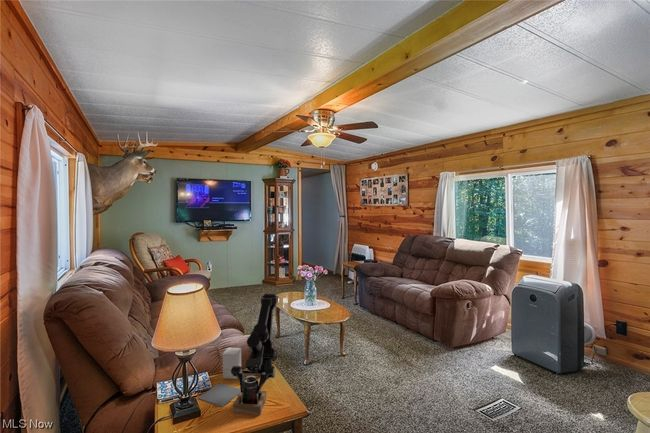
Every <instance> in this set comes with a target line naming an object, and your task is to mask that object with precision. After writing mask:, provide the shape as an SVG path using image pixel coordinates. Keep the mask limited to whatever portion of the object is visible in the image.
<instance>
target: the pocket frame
mask: <svg viewBox="0 0 650 433" xmlns="http://www.w3.org/2000/svg"><path fill="white" fill-rule="evenodd" d="M266 401H267V391H266V390H260V392H259V393H258V404H242V393H241V391H240V393H239V395H237V396H236V399H235V401H234V403H233V405H232V413H233V414H234V415H235V414H237V415H255V416H256V415H259V416H260V415H261V414H262V411H263V408H264V405H265V403H266Z"/></svg>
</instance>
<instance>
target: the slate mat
mask: <svg viewBox="0 0 650 433" xmlns="http://www.w3.org/2000/svg"><path fill="white" fill-rule="evenodd" d="M240 391H241V389H240V388H238V387H236V386H235V387H234V386H232V385H229V384H225V383H222V382H220V383H219V382H218V383H217V384H216V385H214V386H213V387H212V388H210V389H208V390H207V391H205V393H203V394H202V395H200V396H199V397H197V399H198V400H201V401H203V402H206V403H209V404H212V405H216V406H218V407H220V408H224V407H225V406H226V405H227V404H229V403H230V402H231V401H232V400H233V399H235V398H237V397H238V395H239V393H240Z"/></svg>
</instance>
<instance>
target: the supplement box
mask: <svg viewBox="0 0 650 433" xmlns="http://www.w3.org/2000/svg"><path fill="white" fill-rule="evenodd" d="M233 366H241V367H242V348H241V347H227V348H226V349H225V351H224V352H223V353H222V378H223V379H233V380H237V379H238V377H237V376H233V375H232V373H231V369H232V367H233Z"/></svg>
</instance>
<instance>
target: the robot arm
mask: <svg viewBox="0 0 650 433" xmlns="http://www.w3.org/2000/svg"><path fill="white" fill-rule="evenodd" d="M278 301H279V296H278V295H277V294H276V293H264V294H263V295H261V296H260V305H261V306H260V310H259V315H258V320H257V322H256V324H255V325H254V326H253V330H252V331H251V333H250V335H249V337H247V339H246V344H247V347H248V349H249V350H250V354H249V356H248V358H246V359H245V366H244V367H245V368H242V365H241V366H233V367H232V369H231V373H232V375H233V376H237V379H238V381H239V387H240V388H239V389H241V393H242V383H243V381H244V378H245V377H246V376H245V374H246V375H260V376H259V381H258V390H257V393H259V392H260V391H262V390H261V389H262V388H263V386H264V384H265V383H266V381H267V380H269V379H273V378H275V375H276V371H275V368H276V366H275V365H273V360H275V359H276V358H277V353H276V350H275V347H274V346H275V345H274V342H273V340H272V332H273V329H272V328H273V317H274V316H273V315H274V310H275V308H276V307H277V304H278V303H279V302H278ZM274 366H275V367H274Z"/></svg>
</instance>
